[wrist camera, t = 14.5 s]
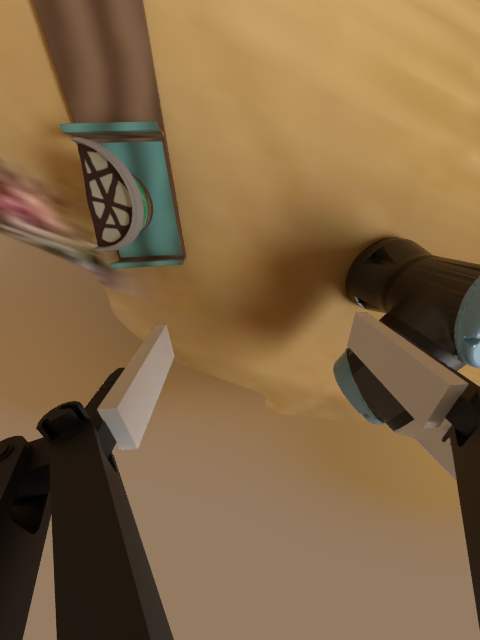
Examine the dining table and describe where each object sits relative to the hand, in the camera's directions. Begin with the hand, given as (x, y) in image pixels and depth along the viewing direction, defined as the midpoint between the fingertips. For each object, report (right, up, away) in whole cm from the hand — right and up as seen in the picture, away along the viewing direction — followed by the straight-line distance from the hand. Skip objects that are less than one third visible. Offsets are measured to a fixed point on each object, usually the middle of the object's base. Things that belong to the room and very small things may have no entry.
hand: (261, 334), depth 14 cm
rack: (-19, +28, +15) cm, 37 cm away
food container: (-18, +20, +19) cm, 33 cm away
